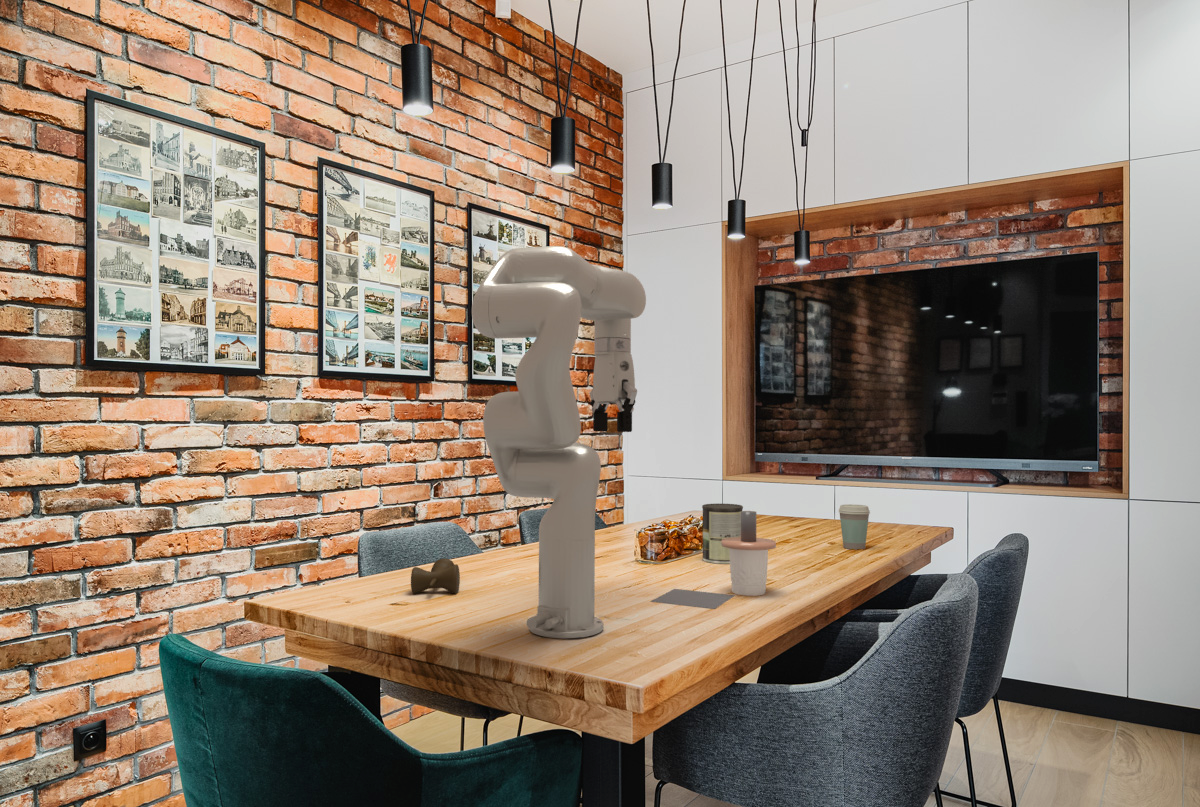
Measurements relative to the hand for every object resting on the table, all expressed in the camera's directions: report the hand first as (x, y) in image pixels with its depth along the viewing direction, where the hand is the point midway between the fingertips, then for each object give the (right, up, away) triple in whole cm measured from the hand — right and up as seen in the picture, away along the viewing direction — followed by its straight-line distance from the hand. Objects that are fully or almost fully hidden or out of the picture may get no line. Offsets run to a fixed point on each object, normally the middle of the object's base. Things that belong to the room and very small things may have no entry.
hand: (612, 431), depth 160 cm
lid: (+28, -24, 0) cm, 37 cm away
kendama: (-37, -34, +4) cm, 50 cm away
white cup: (+28, -34, 0) cm, 44 cm away
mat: (+16, -33, -7) cm, 37 cm away
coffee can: (+29, -35, +39) cm, 60 cm away
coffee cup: (+70, -35, +60) cm, 99 cm away
